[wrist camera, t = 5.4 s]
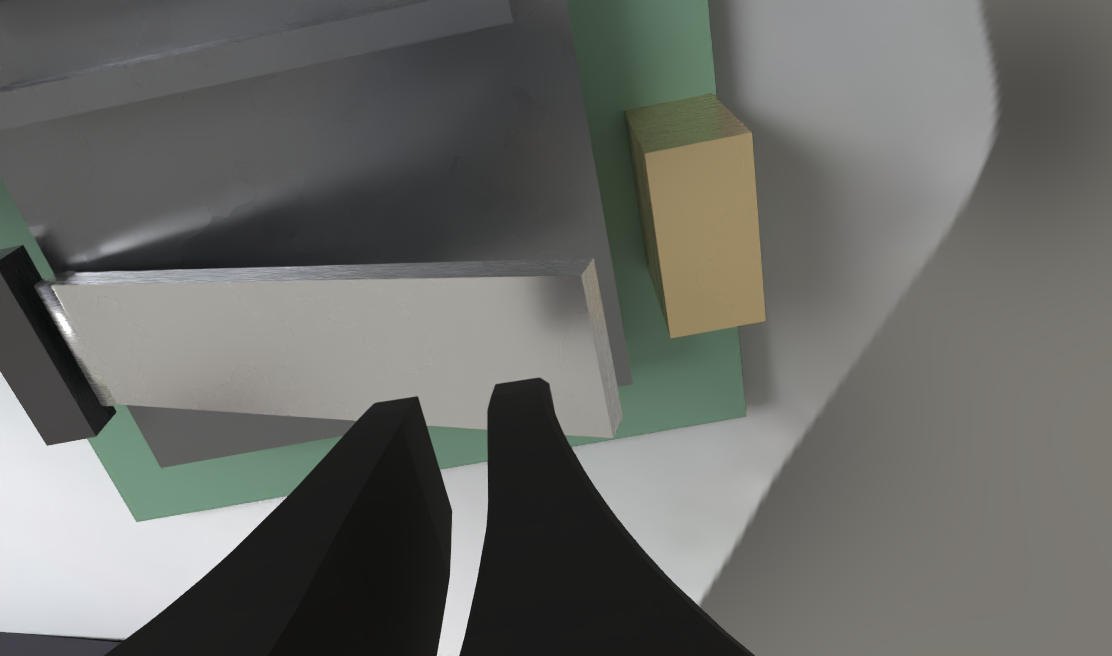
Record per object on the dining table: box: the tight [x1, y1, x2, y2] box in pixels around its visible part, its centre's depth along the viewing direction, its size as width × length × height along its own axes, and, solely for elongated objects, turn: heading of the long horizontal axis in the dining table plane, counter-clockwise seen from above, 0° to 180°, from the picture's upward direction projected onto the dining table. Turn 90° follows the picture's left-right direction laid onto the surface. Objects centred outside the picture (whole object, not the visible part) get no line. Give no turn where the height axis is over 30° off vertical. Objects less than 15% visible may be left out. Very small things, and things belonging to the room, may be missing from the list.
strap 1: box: [34, 258, 623, 438], centre depth 15 cm, size 12×3×1 cm, turn 101°
